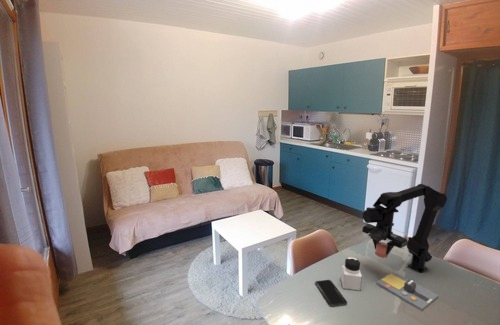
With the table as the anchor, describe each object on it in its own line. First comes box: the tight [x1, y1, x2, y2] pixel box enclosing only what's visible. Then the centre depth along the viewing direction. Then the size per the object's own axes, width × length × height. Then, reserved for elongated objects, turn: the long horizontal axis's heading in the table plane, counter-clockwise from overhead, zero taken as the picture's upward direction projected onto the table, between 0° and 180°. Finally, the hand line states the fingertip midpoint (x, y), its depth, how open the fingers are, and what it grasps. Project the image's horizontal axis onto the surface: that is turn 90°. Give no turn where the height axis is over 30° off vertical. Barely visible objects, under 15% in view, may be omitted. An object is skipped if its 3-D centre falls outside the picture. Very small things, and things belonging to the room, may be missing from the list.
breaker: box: [404, 279, 417, 293], centre depth 113 cm, size 4×3×4 cm
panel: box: [375, 271, 439, 312], centre depth 115 cm, size 14×19×2 cm
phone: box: [314, 279, 348, 308], centre depth 113 cm, size 8×1×15 cm
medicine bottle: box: [340, 257, 363, 292], centre depth 117 cm, size 7×7×12 cm
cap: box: [374, 241, 389, 259], centre depth 125 cm, size 5×5×5 cm
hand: (381, 252), depth 125 cm, fingers closed on cap, 5 cm apart
